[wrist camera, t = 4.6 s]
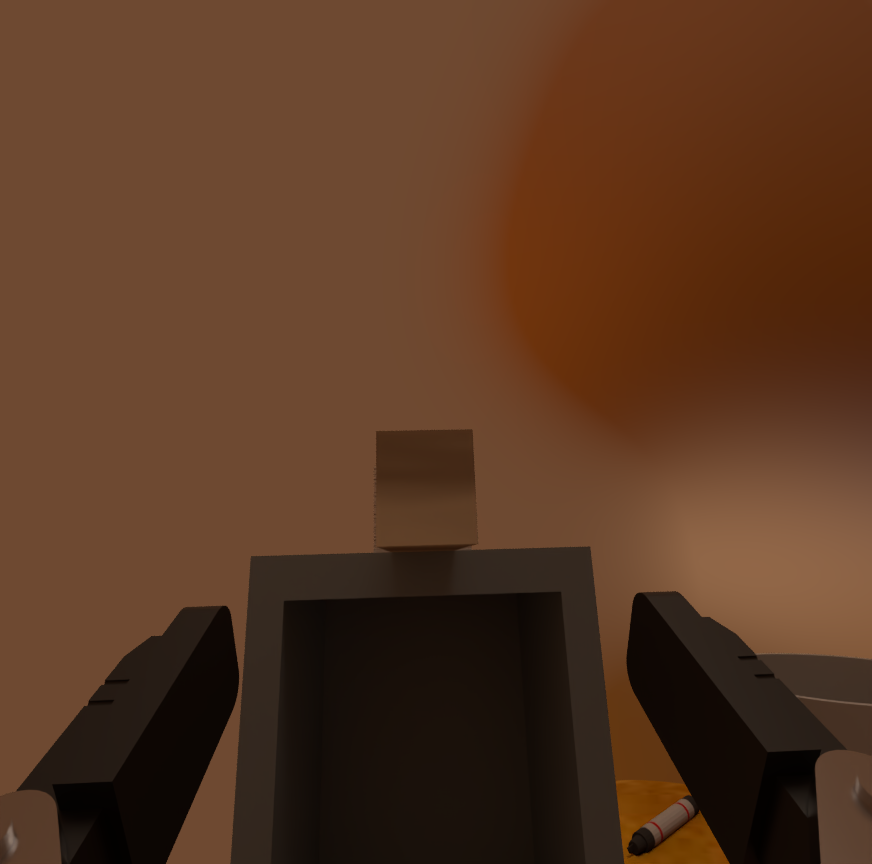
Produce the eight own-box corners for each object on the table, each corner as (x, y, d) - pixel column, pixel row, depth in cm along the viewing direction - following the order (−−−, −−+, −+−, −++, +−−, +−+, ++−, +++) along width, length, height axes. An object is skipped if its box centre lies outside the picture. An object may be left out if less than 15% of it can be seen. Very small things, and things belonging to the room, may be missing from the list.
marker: (685, 810, 63) (682, 792, 63) (700, 816, 61) (698, 797, 62) (621, 858, 53) (618, 837, 54) (638, 866, 52) (635, 844, 52)
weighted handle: (511, 542, 14) (502, 398, 16) (341, 547, 14) (344, 401, 15) (458, 553, 33) (455, 486, 34) (383, 555, 33) (383, 488, 34)
